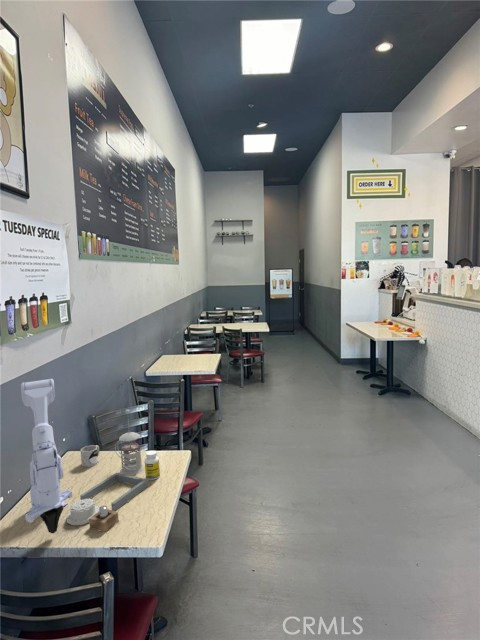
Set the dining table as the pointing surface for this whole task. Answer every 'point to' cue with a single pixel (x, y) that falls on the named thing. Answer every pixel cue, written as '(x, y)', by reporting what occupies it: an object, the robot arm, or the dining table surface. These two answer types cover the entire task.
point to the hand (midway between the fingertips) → (52, 531)
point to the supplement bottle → (152, 465)
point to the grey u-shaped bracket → (137, 481)
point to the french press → (133, 465)
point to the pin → (103, 512)
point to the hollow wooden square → (103, 521)
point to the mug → (89, 455)
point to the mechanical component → (82, 512)
